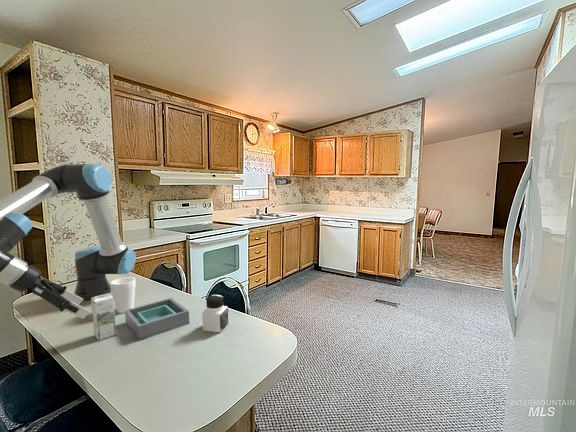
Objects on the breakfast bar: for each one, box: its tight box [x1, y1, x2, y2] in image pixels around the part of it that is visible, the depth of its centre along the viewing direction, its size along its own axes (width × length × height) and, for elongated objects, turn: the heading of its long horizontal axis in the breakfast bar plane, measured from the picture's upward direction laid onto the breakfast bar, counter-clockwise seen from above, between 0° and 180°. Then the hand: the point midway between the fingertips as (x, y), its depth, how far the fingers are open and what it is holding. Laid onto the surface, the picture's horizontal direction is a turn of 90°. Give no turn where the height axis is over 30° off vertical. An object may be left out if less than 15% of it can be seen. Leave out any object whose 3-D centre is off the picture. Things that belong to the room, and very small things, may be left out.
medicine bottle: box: [201, 294, 229, 334], centre depth 111 cm, size 7×7×12 cm
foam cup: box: [109, 276, 137, 314], centre depth 128 cm, size 10×9×13 cm
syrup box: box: [90, 293, 117, 342], centre depth 106 cm, size 6×6×14 cm
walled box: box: [124, 297, 190, 341], centre depth 116 cm, size 18×18×5 cm
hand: (83, 308), depth 101 cm, fingers open, 13 cm apart
